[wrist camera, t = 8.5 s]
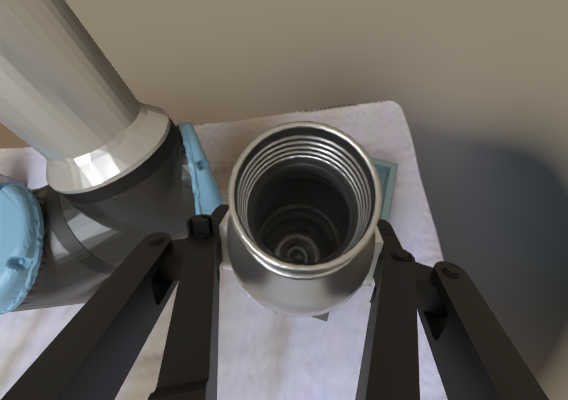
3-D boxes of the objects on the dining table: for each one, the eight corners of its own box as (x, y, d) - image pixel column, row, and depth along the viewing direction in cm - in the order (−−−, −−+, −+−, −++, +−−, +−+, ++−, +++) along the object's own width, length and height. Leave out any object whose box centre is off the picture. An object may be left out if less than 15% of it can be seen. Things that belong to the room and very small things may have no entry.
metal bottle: (325, 222, 26) (411, 59, 7) (334, 292, 24) (493, 344, 5) (262, 227, 26) (173, 81, 7) (265, 297, 24) (152, 368, 5)
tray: (295, 223, 44) (295, 219, 41) (315, 154, 48) (317, 144, 45) (376, 246, 42) (383, 243, 39) (390, 172, 46) (397, 163, 43)
